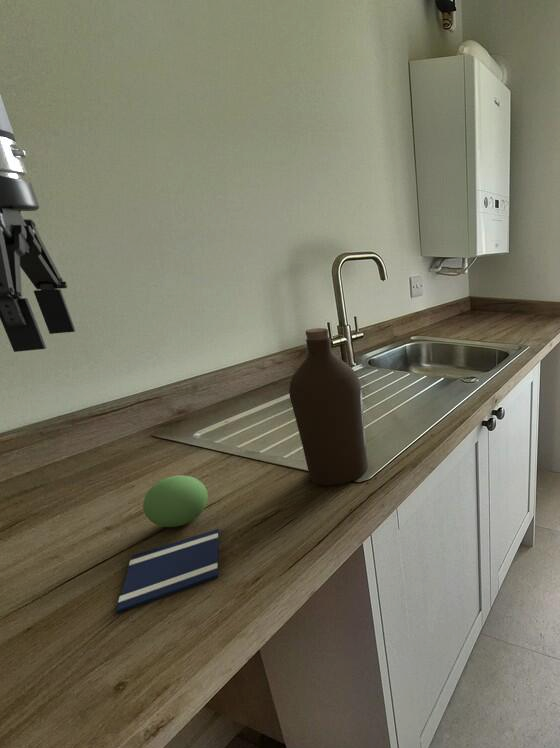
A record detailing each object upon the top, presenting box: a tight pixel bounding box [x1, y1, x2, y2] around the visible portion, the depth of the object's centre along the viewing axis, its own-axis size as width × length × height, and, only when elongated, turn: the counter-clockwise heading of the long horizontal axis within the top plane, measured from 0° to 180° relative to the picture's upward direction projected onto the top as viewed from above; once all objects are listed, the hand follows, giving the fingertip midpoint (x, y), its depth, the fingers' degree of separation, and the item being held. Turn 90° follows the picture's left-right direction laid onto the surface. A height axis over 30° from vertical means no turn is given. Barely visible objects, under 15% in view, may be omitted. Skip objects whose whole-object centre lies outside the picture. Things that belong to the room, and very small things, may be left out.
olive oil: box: [288, 327, 369, 487], centre depth 67 cm, size 11×11×25 cm
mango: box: [142, 474, 209, 528], centre depth 57 cm, size 7×7×7 cm
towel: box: [115, 528, 220, 614], centre depth 50 cm, size 10×9×1 cm
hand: (48, 340), depth 58 cm, fingers open, 13 cm apart
